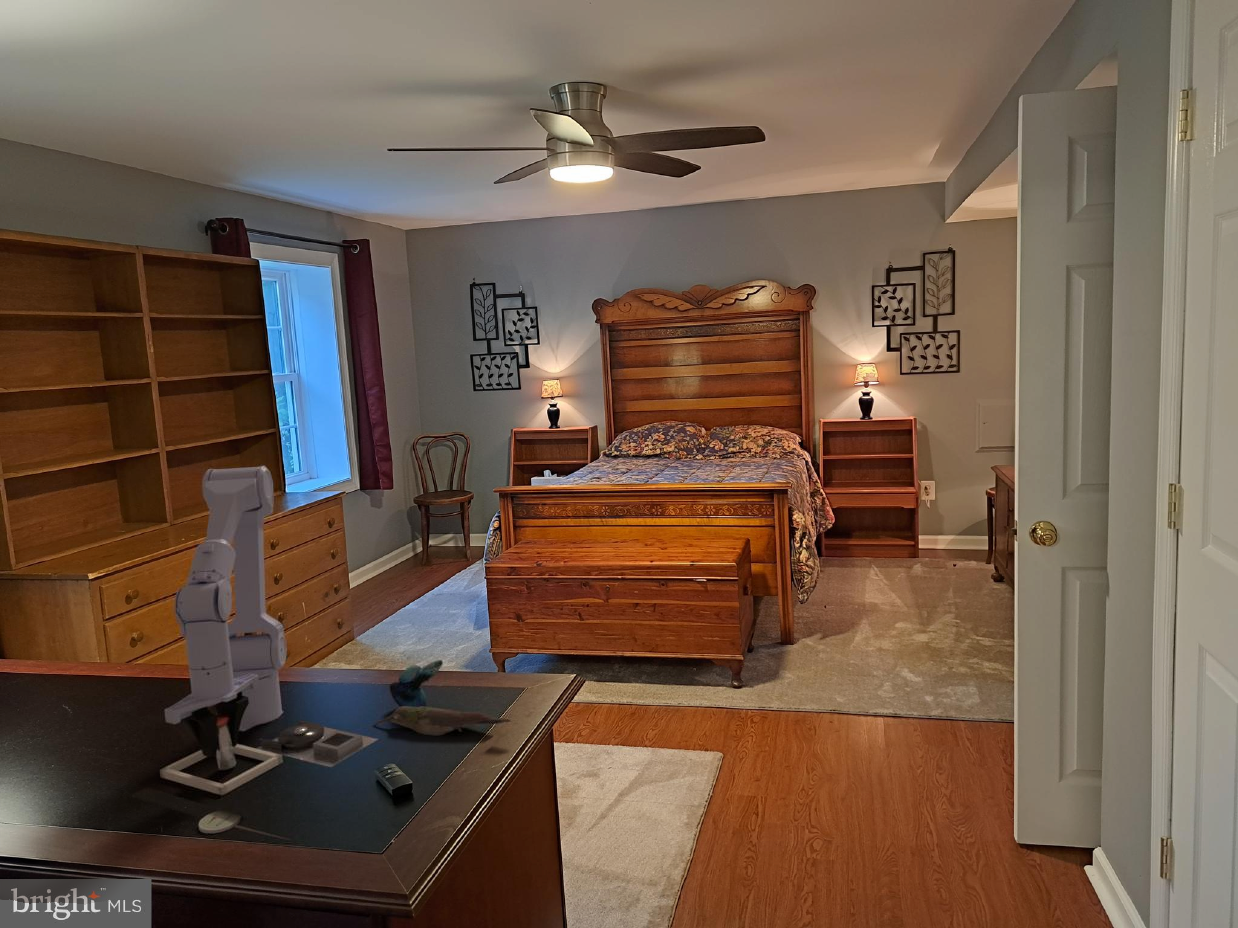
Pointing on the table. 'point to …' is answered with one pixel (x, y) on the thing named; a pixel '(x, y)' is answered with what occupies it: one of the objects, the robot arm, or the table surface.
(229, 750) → the pin
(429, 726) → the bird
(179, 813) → the table surface
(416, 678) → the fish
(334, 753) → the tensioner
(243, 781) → the tray
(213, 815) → the sign
